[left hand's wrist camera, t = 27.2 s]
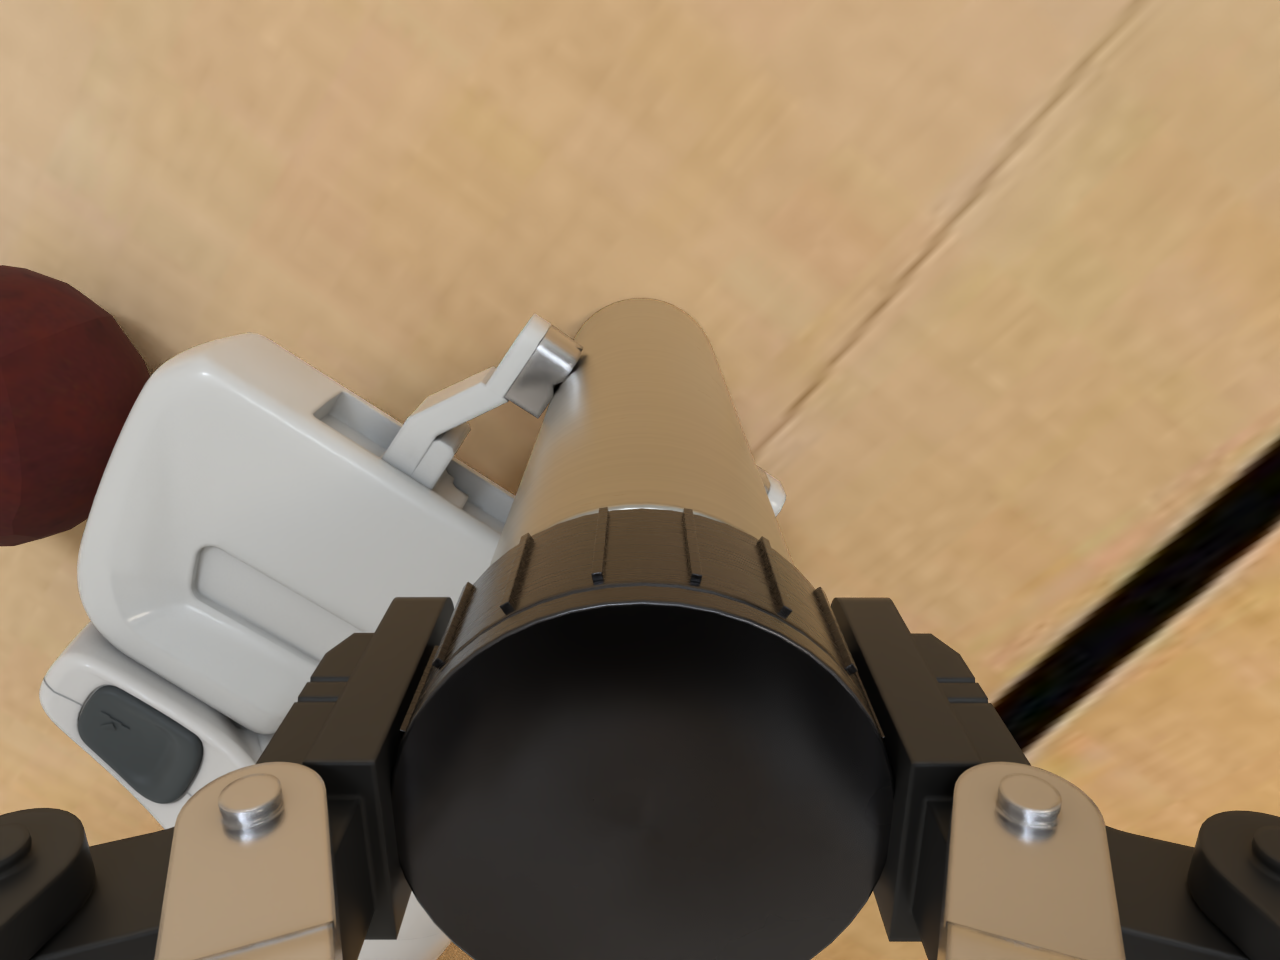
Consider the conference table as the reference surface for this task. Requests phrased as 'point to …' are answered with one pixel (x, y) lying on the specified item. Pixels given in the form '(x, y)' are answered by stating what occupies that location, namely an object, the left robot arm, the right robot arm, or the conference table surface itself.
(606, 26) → the conference table surface
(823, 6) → the conference table surface
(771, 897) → the lid
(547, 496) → the beige cylinder
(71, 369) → the dark red plum
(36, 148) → the conference table surface
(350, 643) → the left robot arm
